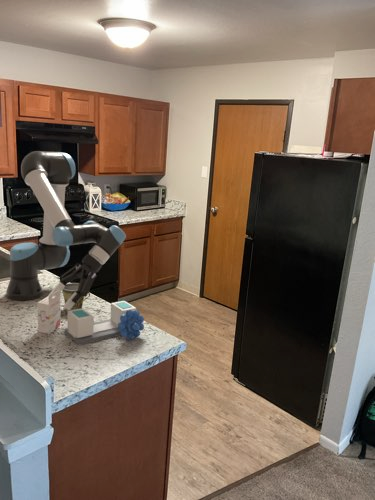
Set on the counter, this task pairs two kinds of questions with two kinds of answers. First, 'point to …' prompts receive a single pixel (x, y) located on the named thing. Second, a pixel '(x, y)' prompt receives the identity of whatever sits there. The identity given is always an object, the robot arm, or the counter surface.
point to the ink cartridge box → (49, 313)
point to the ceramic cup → (69, 291)
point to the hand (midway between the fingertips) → (58, 302)
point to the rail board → (95, 324)
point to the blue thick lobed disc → (131, 324)
